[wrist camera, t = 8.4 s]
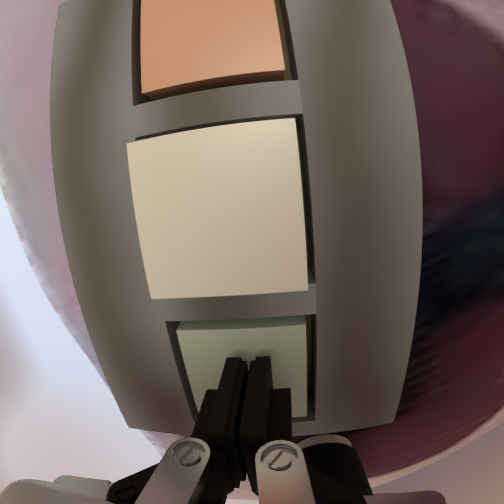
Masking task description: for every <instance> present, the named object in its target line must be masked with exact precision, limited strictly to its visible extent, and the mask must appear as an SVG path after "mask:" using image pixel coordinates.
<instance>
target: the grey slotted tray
mask: <svg viewBox="0 0 504 504" xmlns="http://www.w3.org/2000/svg"><path fill="white" fill-rule="evenodd" d="M274 3H275V9H276V15H277V21H278V27H279V33H280V39H281V46H282V52H283V59H284V66H285V75H284V81H274V82H263V83H253V84H244V85H236V86H229V87H222V88H215V89H209V90H203V91H198V92H192V93H187V94H182V95H177V96H173V97H168V98H164V99H159V100H154V99H152V98H150V97H148V96H146V95H144V94H142V85H141V0H69V1H67V2H65V3H63V4H61V5H59V9H58V15H57V21H56V28H55V36H54V44H53V54H52V67H51V86H50V130H51V150H52V163H53V173H54V183H55V191H56V198H57V205H58V212H59V218H60V224H61V229H62V235H63V240H64V245H65V249H66V254H67V258H68V263H69V267H70V271H71V275H72V279H73V283H74V286H75V290H76V294H77V297H78V301H79V304H80V307H81V311H82V314H83V317H84V320H85V323H86V326H87V329H88V332H89V335H90V338H91V341H92V344H93V346H94V349H95V352H96V355H97V357H98V360H99V362H100V365H101V367H102V370H103V372H104V375H105V377H106V380H107V382H108V384H109V387H110V389H111V391H112V393H113V396H114V398H115V400H116V402H117V404H118V406H119V408H120V411H121V413H122V414H123V417H124V419H125V421H126V423H127V425H128V426H129V427H130V428H135V429H142V430H148V431H156V432H163V433H172V434H182V435H192V432H193V429H194V426H195V423H196V420H197V417H198V414H199V413H198V410H197V406H196V403H195V400H194V396H193V393H192V389H191V386H190V382H189V379H188V375H187V371H186V368H185V364H184V360H183V356H182V352H181V348H180V344H179V340H178V336H177V332H176V330H177V328H178V326H179V325H180V323H181V321H202V320H230V319H251V318H268V317H283V316H297V315H304V316H305V322H306V346H307V416H305V417H292V436H303V435H314V434H324V433H333V432H341V431H348V430H355V429H361V428H367V427H373V426H378V425H383V424H388V423H393V422H394V419H395V415H396V412H397V408H398V404H399V400H400V396H401V392H402V388H403V384H404V379H405V375H406V370H407V365H408V360H409V355H410V350H411V344H412V338H413V332H414V325H415V318H416V310H417V302H418V293H419V283H420V271H421V255H422V227H423V201H422V173H421V157H420V145H419V135H418V126H417V118H416V111H415V104H414V98H413V92H412V86H411V81H410V75H409V70H408V66H407V61H406V56H405V52H404V48H403V44H402V40H401V36H400V32H399V29H398V25H397V22H396V18H395V15H394V12H393V8H392V5H391V2H390V0H274ZM288 118H295V123H296V132H297V141H298V151H299V161H300V172H301V183H302V195H303V208H304V222H305V237H306V255H307V275H308V290H306V291H293V292H280V293H266V294H250V295H234V296H215V297H194V298H168V299H151V296H150V291H149V287H148V282H147V278H146V273H145V268H144V263H143V258H142V252H141V247H140V241H139V236H138V230H137V224H136V217H135V211H134V204H133V197H132V189H131V181H130V173H129V164H128V154H127V143H131V142H135V141H139V140H144V139H148V138H153V137H158V136H163V135H168V134H173V133H178V132H183V131H189V130H195V129H201V128H207V127H214V126H221V125H228V124H236V123H245V122H254V121H264V120H275V119H288Z"/></svg>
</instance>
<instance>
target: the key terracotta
mask: <svg viewBox="0 0 504 504" xmlns="http://www.w3.org/2000/svg"><path fill="white" fill-rule="evenodd" d="M284 75H285V66H284V59H283V52H282V46H281V39H280V33H279V27H278V21H277V15H276V9H275V3H274V0H141V85H142V94H144V95H146V96H148V97H150V98H152V99H154V100H159V99H164V98H168V97H173V96H177V95H182V94H187V93H192V92H198V91H203V90H209V89H215V88H222V87H229V86H236V85H244V84H253V83H263V82H274V81H284Z"/></svg>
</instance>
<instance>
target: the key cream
mask: <svg viewBox="0 0 504 504" xmlns="http://www.w3.org/2000/svg"><path fill="white" fill-rule="evenodd" d="M127 154H128V164H129V173H130V181H131V189H132V197H133V204H134V211H135V217H136V224H137V230H138V236H139V241H140V247H141V252H142V258H143V263H144V268H145V273H146V278H147V282H148V287H149V291H150V296H151V299H168V298H194V297H215V296H234V295H250V294H266V293H280V292H293V291H306V290H308V275H307V255H306V237H305V222H304V208H303V195H302V183H301V172H300V161H299V151H298V141H297V132H296V123H295V118H288V119H275V120H264V121H254V122H245V123H236V124H228V125H221V126H214V127H207V128H201V129H195V130H189V131H183V132H178V133H173V134H168V135H163V136H158V137H153V138H148V139H144V140H139V141H135V142H131V143H127Z"/></svg>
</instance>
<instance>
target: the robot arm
mask: <svg viewBox="0 0 504 504" xmlns="http://www.w3.org/2000/svg"><path fill="white" fill-rule="evenodd" d="M246 473H247V474H248V478H249V481H250V485H251V489H252V492H254V493H255V494H256V495H257V496H258V497H259V504H446V501H445V498H444V496H443V495H442V494H441V493H439V492H436V491H418V492H405V493H380V494H378V493H377V494H374V496H362V495H361V494H360V493H358V492H356V491H354V490H353V489H351V488H349V487H347V486H345V485H344V484H342V483H340V482H338V481H337V480H335V479H333V478H332V477H330V476H328V475H327V474H325V473H323V472H322V471H320V470H318V469H317V468H315V467H314V466H312V465H310V464H309V463H307V462H306V461H305V459H304V455H303V452H302V450H301V448H300V447H299V446H298V445H297V444H295V443H293V442H292V402H291V388H277V389H273V379H272V367H271V357H270V356H258V357H256V359H255V360H251V361H250V366H249V372H248V365H247V361H242V358H241V357H227V358H226V361H225V364H224V368H223V372H222V375H221V379H220V382H219V386H218V389H207V390H206V393H205V395H204V398H203V402H202V405H201V408H200V411H199V414H198V417H197V420H196V423H195V426H194V429H193V432H192V435H191V438H183V439H180V440H177V441H176V442H174V443H173V444H171V446H170V447H169V448H168V449H167V451H166V453H165V454H164V456H163V458H162V459H161V461H160V463H158V464H156V465H153V466H151V467H149V468H147V469H144V470H142V471H140V472H137V473H135V474H133V475H130V476H128V477H126V478H123V479H121V480H119V481H117V482H115V483H111V482H110V481H109V480H99V479H90V478H82V477H75V476H68V475H67V476H61V477H58V478H57V479H56V480H54V482H53V483H52V482H47V481H41V480H31V479H26V480H25V479H24V480H17V481H15V482H13V483H11V484H9V485H8V486H7V487H6V488H5V489H4V490H3V491H2V492H1V494H0V504H225V502H226V498H227V494H229V493H230V492H232V491H234V488H239V486H240V481H245V480H246Z"/></svg>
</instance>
